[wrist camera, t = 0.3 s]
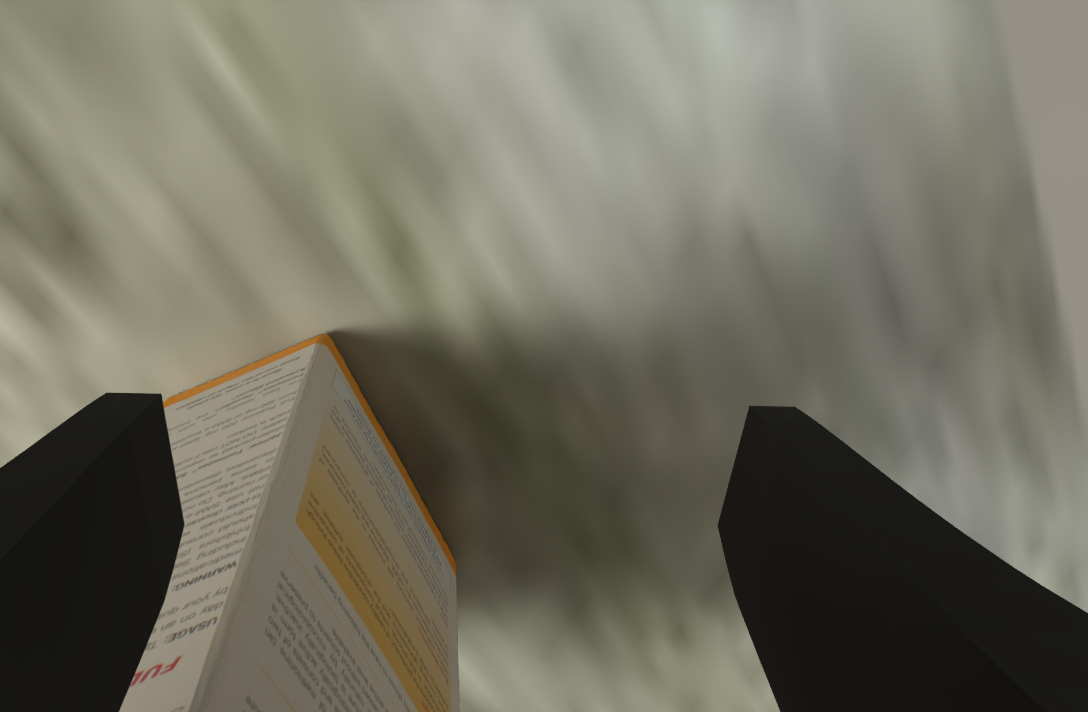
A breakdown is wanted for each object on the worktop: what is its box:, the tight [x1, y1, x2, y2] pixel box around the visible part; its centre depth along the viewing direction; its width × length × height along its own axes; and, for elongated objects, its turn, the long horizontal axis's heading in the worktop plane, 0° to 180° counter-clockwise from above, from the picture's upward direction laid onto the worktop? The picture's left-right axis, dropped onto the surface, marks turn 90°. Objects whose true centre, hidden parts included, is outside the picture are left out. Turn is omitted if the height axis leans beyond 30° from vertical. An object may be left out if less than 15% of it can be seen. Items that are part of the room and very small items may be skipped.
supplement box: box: [119, 334, 460, 712], centre depth 16 cm, size 8×5×13 cm, turn 21°
